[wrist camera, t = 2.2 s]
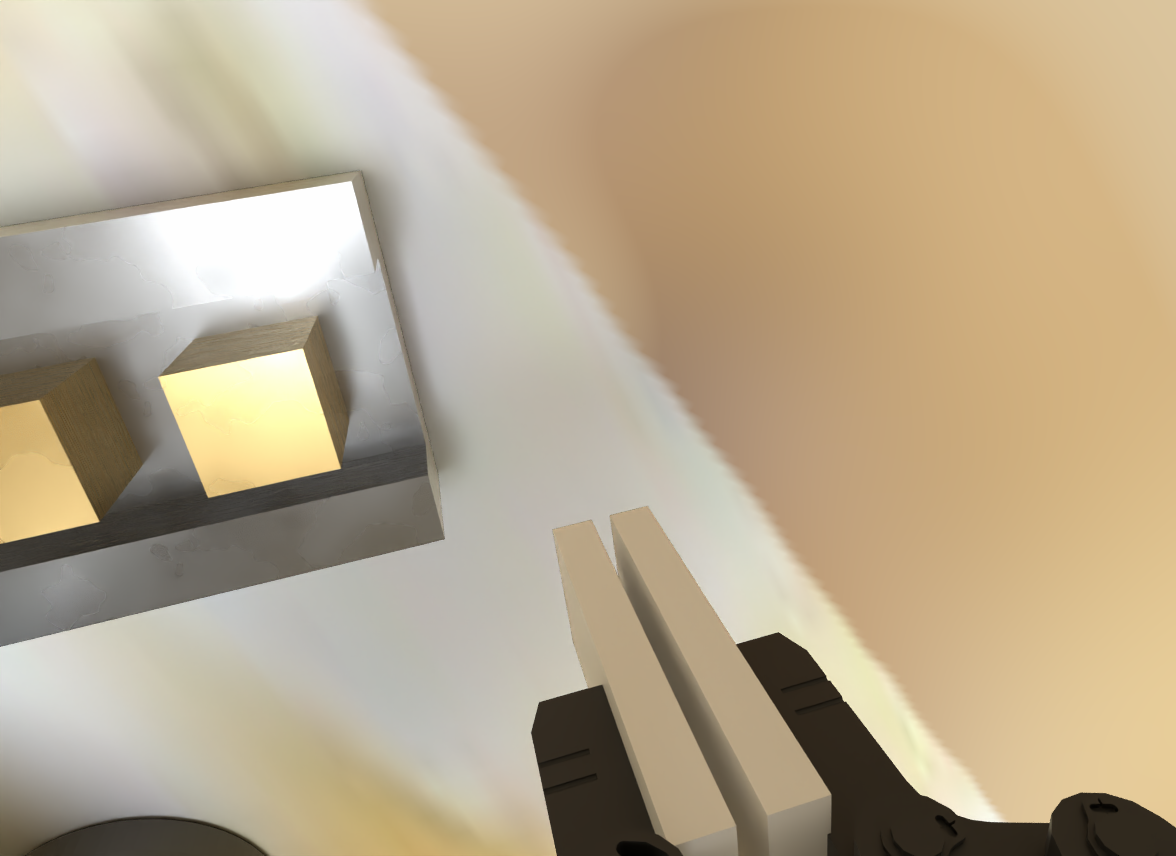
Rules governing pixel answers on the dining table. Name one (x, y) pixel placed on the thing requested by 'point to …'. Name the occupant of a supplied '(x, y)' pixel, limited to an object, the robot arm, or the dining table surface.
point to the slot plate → (131, 368)
